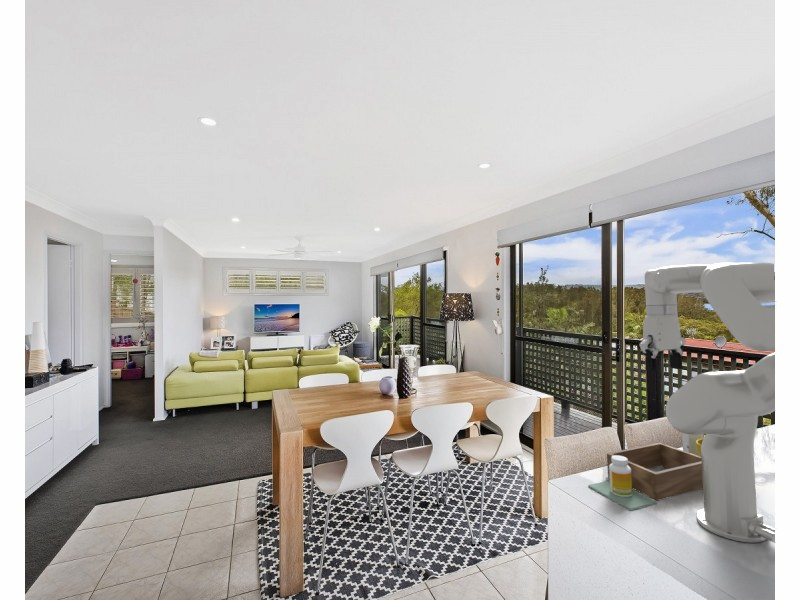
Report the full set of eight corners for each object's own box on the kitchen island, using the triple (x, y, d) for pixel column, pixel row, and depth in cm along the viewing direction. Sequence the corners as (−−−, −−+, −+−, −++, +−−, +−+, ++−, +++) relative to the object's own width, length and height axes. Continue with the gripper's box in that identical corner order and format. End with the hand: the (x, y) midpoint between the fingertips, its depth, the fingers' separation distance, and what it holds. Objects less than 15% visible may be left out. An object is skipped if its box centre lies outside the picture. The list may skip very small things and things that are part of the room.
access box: (713, 485, 110) (712, 460, 110) (657, 500, 103) (655, 474, 103) (660, 464, 125) (659, 442, 125) (607, 476, 118) (606, 453, 118)
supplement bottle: (636, 497, 104) (635, 461, 104) (616, 498, 104) (614, 462, 104) (625, 488, 110) (623, 453, 110) (606, 488, 110) (604, 454, 110)
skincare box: (682, 457, 130) (680, 421, 130) (698, 458, 128) (696, 422, 128) (689, 465, 124) (687, 427, 124) (705, 466, 122) (703, 428, 122)
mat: (656, 503, 102) (656, 501, 102) (630, 510, 99) (630, 508, 99) (612, 481, 115) (612, 479, 115) (588, 486, 112) (588, 485, 112)
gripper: (669, 309, 119) (672, 365, 118) (627, 312, 113) (630, 370, 113) (695, 309, 112) (698, 369, 111) (652, 312, 106) (655, 375, 106)
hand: (664, 369), depth 112 cm, fingers open, 9 cm apart
